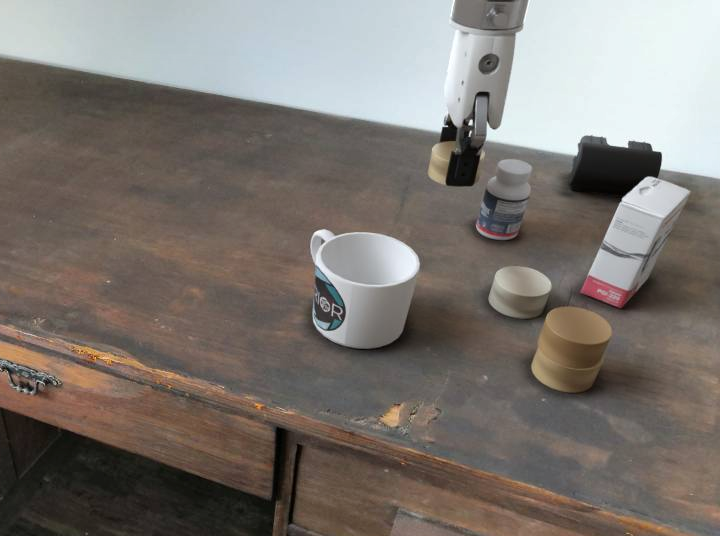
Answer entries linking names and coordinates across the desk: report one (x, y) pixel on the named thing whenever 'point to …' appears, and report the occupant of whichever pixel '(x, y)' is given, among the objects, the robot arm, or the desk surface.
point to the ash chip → (519, 292)
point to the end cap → (612, 166)
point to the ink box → (634, 240)
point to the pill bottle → (505, 200)
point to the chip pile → (571, 349)
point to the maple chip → (446, 162)
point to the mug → (362, 287)
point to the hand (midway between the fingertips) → (454, 170)
